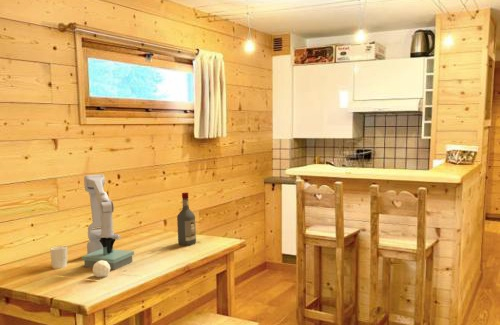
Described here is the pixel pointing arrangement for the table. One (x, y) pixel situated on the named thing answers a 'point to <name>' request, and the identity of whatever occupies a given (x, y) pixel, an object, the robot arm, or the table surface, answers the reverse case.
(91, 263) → the tub
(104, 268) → the ball
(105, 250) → the lid
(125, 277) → the table surface
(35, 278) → the table surface
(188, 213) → the liquor
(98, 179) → the robot arm
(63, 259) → the white cup
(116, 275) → the table surface
